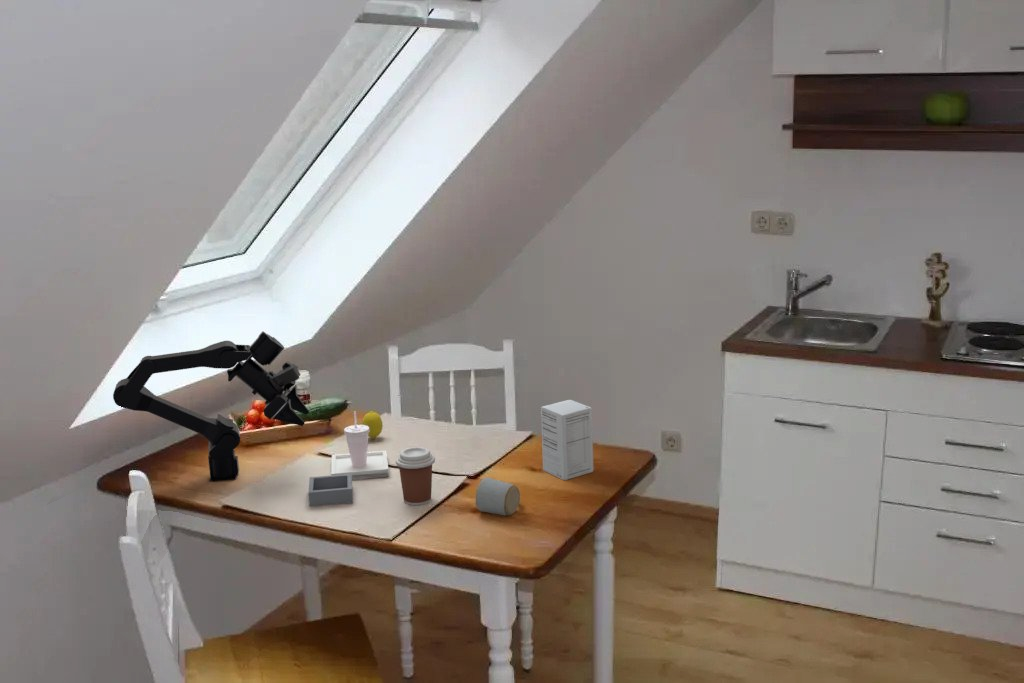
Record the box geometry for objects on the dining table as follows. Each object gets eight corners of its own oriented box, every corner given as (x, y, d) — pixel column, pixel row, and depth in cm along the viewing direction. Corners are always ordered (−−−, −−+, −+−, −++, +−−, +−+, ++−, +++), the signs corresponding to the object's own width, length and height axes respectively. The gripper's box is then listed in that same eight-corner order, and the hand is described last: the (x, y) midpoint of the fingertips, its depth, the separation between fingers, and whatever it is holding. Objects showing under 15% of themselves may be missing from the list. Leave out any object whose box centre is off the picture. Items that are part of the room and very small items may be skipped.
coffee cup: (435, 491, 252) (432, 443, 249) (439, 505, 243) (436, 456, 240) (396, 494, 251) (393, 447, 248) (399, 509, 242) (396, 460, 239)
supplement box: (572, 461, 268) (570, 398, 264) (594, 472, 261) (593, 406, 257) (541, 470, 263) (539, 405, 259) (563, 481, 256) (562, 414, 252)
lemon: (359, 441, 289) (357, 413, 287) (369, 434, 294) (367, 407, 292) (377, 443, 287) (375, 415, 285) (386, 436, 292) (385, 409, 290)
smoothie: (367, 458, 272) (363, 406, 269) (375, 466, 266) (371, 413, 263) (343, 463, 269) (339, 410, 266) (351, 470, 264) (347, 417, 260)
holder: (309, 506, 245) (308, 492, 244) (310, 490, 255) (309, 477, 254) (352, 502, 247) (351, 488, 246) (352, 487, 256) (351, 473, 255)
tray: (331, 481, 260) (331, 473, 260) (332, 462, 274) (331, 454, 273) (388, 476, 262) (388, 469, 262) (386, 457, 276) (386, 450, 275)
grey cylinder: (507, 521, 233) (506, 488, 232) (475, 515, 237) (474, 483, 235) (528, 505, 242) (528, 473, 241) (497, 499, 246) (496, 468, 244)
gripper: (273, 365, 252) (323, 407, 256) (284, 346, 271) (330, 385, 274) (242, 398, 254) (293, 439, 257) (255, 377, 272) (302, 416, 275)
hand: (305, 418), depth 266 cm, fingers open, 9 cm apart
